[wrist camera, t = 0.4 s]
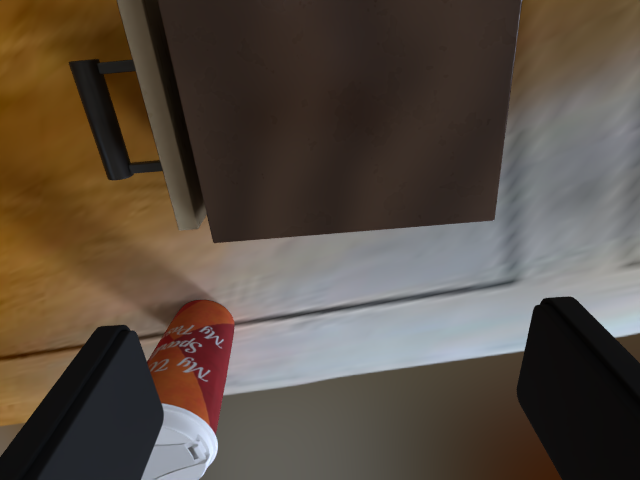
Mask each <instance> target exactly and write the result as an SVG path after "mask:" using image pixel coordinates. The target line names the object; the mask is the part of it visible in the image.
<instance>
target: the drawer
mask: <svg viewBox="0 0 640 480" xmlns="http://www.w3.org/2000/svg"><path fill="white" fill-rule="evenodd" d="M117 3H118V7H119V11H120V14H121V18H122V22H123V25H124V29H125V33H126V36H127V40H128V44H129V48H130V51H131V55H132V59H133V60H123V61H112V62H102V63H100V61H99V59H92V60H81V61H71V62H69V65H70V68H71V71H72V74H73V77H74V80H75V83H76V86H77V89H78V92H79V95H80V98H81V101H82V104H83V107H84V110H85V113H86V116H87V119H88V122H89V124H90V127H91V130H92V133H93V136H94V139H95V142H96V145H97V148H98V151H99V154H100V157H101V160H102V163H103V166H104V169H105V172H106V175H107V178H108V179H109V180H121V179H126V178H129V177H131V176H133V175H134V173H145V172H156V171H163V173H164V177H165V180H166V184H167V188H168V191H169V195H170V199H171V203H172V206H173V210H174V214H175V217H176V221H177V225H178V228H179V230H191V229H198V228H199V226H200V225H201V223H202V221H203V220H204V218H205V216H206V215H207V213H206V208H205V204H204V200H203V195H202V191H201V187H200V182H199V178H198V174H197V169H196V165H195V161H194V156H193V152H192V148H191V143H190V139H189V135H188V130H187V126H186V122H185V118H184V113H183V109H182V105H181V100H180V96H179V92H178V87H177V83H176V79H175V74H174V70H173V66H172V61H171V57H170V53H169V48H168V44H167V40H166V35H165V31H164V27H163V22H162V18H161V14H160V9H159V5H158V1H157V0H117ZM131 71H136V73H137V77H138V81H139V84H140V88H141V92H142V96H143V99H144V103H145V107H146V110H147V114H148V118H149V121H150V125H151V129H152V132H153V136H154V140H155V143H156V147H157V151H158V155H159V158H160V160H157V161H145V162H134V163H131V162H130V159H129V156H128V152H127V149H126V146H125V142H124V139H123V136H122V133H121V129H120V126H119V123H118V120H117V116H116V113H115V110H114V107H113V103H112V100H111V97H110V93H109V90H108V87H107V84H106V80H105V77H104V74H109V73H120V72H131Z"/></svg>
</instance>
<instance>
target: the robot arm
mask: <svg viewBox="0 0 640 480" xmlns="http://www.w3.org/2000/svg"><path fill="white" fill-rule="evenodd" d="M517 397H518V400H519V403H520V405H521V407H522V409H523V411H524V412H525V414H526V416H527V418H528V419H529V421H530V423H531V424H532V427H533V428H534V430H535V432H536V434H537V435H538V437H539V439H540V441H541V443H542V444H543V446H544V448H545V450H546V451H547V453H548V455H549V457H550V459H551V460H552V462H553V464H554V466H555V468H556V469H557V471H558V473H559V475H560V476H561V478H562V480H640V363H639V362H638V361H637V360H636V359H635V358H634V357H633V356H632V355H631V354H630V353H629V352H628V351H627V350H626V349H625V348H624V347H623V346H622V345H621V344H620V343H619V342H618V341H617V340H616V339H615V338H614V337H613V336H612V335H611V334H610V333H609V332H608V331H607V330H606V329H605V328H604V327H603V326H602V325H601V324H600V323H599V322H598V321H597V320H596V319H595V318H594V317H593V316H592V315H591V314H590V313H589V312H588V311H587V310H586V309H585V308H584V307H583V306H582V305H581V304H580V303H579V302H578V301H577V300H576V299H574V298H573V297H555V298H545V299H543V300H542V301H541V303H540V305H536V306H535V307H534V310H533V314H532V319H531V323H530V328H529V333H528V338H527V342H526V347H525V352H524V357H523V361H522V366H521V371H520V376H519V380H518V385H517ZM163 420H164V411H163V407H162V404H161V401H160V398H159V395H158V393H157V390H156V387H155V384H154V381H153V378H152V375H151V373H150V370H149V367H148V364H147V361H146V358H145V355H144V353H143V350H142V347H141V344H140V341H139V338H138V335H137V333H136V332H135V331H130V329H129V328H128V327H127V326H126V325H114V326H101V327H98V328H97V329H96V330H95V331H94V333H93V334H92V335H91V337H90V338H89V339H88V341H87V342H86V343H85V345H84V346H83V347H82V349H81V350H80V351H79V353H78V354H77V355H76V357H75V358H74V359H73V361H72V362H71V363H70V365H69V366H68V367H67V369H66V370H65V371H64V373H63V374H62V375H61V377H60V378H59V379H58V381H57V382H56V383H55V385H54V386H53V387H52V389H51V390H50V391H49V393H48V394H47V395H46V397H45V398H44V399H43V401H42V402H41V403H40V405H39V406H38V407H37V409H36V410H35V411H34V413H33V414H32V415H31V417H30V418H29V419H28V421H27V422H26V423H25V425H24V426H23V427H22V429H21V430H20V431H19V433H18V434H17V435H16V437H15V438H14V439H13V441H12V442H11V443H10V445H9V446H8V448H7V449H6V450H5V451H4V453H3V454H2V455H1V457H0V480H141V478H142V476H143V473H144V471H145V468H146V466H147V463H148V461H149V458H150V455H151V453H152V450H153V448H154V445H155V443H156V440H157V438H158V435H159V433H160V430H161V427H162V424H163Z"/></svg>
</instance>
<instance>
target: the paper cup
mask: <svg viewBox="0 0 640 480" xmlns="http://www.w3.org/2000/svg"><path fill="white" fill-rule="evenodd" d="M233 335H234V320H233V317H232V315H231V314H230V312H229V311H228V310H227V309H226V308H225V307H223V306H222V305H220V304H218V303H216V302H213V301H209V300H195V301H192V302H189V303H187V304H185V305H184V306H183V307H182V308H181V309H180V310H179V311H178V313H177V314H176V316H175V317H174V319H173V321H172V322H171V324H170V325H169V327H168V329H167V330H166V332H165V333H164V335H163V337H162V338H161V340H160V342H159V343H158V345H157V347H156V348H155V350H154V352H153V353H152V355H151V356H150V358H149V360H148V361H147V364H148V367H149V370H150V373H151V375H152V378H153V381H154V384H155V387H156V390H157V393H158V395H159V398H160V401H161V404H162V407H163V411H164V420H163V424H162V427H161V430H160V433H159V435H158V438H157V440H156V443H155V445H154V448H153V450H152V453H151V455H150V458H149V461H148V463H147V466H146V468H145V471H144V473H143V476H142V478H141V480H199V479H200V478H201V476H203V474H204V472H205V471H206V469H207V467H208V466H209V465H210V464H211V463H212V462H213V460H214V458H215V457H216V454H217V450H218V443H217V438H216V430H217V425H218V420H219V414H220V409H221V403H222V398H223V392H224V387H225V382H226V377H227V370H228V364H229V359H230V353H231V347H232V341H233Z"/></svg>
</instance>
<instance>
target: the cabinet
mask: <svg viewBox="0 0 640 480" xmlns="http://www.w3.org/2000/svg"><path fill="white" fill-rule="evenodd" d="M157 1H158V5H159V9H160V14H161V18H162V22H163V27H164V31H165V35H166V40H167V44H168V48H169V53H170V57H171V61H172V66H173V70H174V74H175V79H176V83H177V87H178V92H179V96H180V100H181V105H182V109H183V113H184V118H185V122H186V126H187V130H188V135H189V139H190V143H191V148H192V152H193V156H194V161H195V165H196V169H197V174H198V178H199V182H200V187H201V191H202V195H203V200H204V204H205V208H206V213H207V217H208V221H209V226H210V230H211V234H212V239H213V242H214V243H221V242H233V241H246V240H258V239H270V238H283V237H295V236H307V235H320V234H332V233H345V232H357V231H369V230H382V229H394V228H407V227H419V226H431V225H444V224H456V223H468V222H481V221H493V220H494V219H495V211H496V203H497V195H498V187H499V179H500V171H501V163H502V155H503V148H504V140H505V132H506V124H507V116H508V108H509V100H510V92H511V84H512V76H513V68H514V61H515V53H516V45H517V37H518V29H519V21H520V13H521V5H522V0H157Z"/></svg>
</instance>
